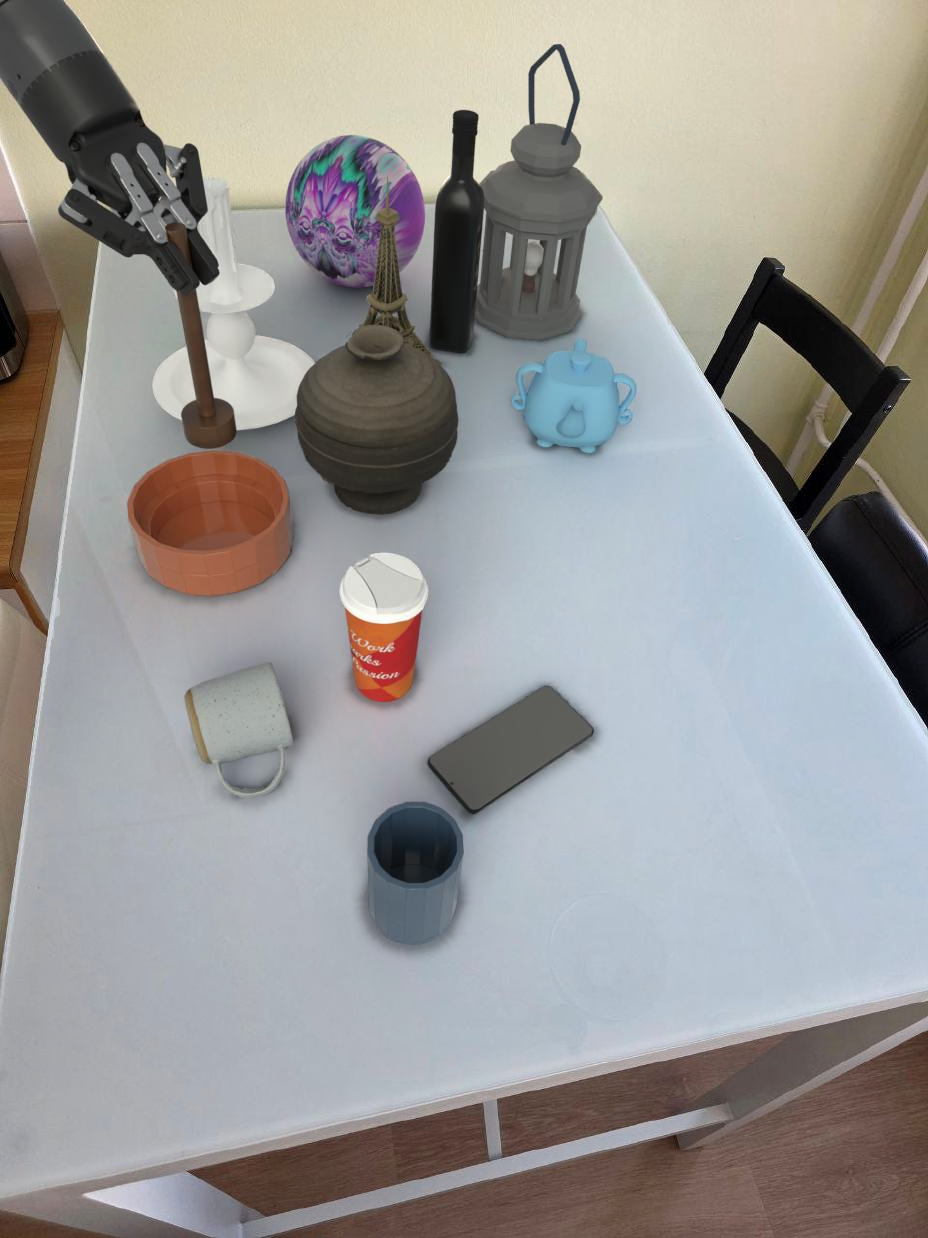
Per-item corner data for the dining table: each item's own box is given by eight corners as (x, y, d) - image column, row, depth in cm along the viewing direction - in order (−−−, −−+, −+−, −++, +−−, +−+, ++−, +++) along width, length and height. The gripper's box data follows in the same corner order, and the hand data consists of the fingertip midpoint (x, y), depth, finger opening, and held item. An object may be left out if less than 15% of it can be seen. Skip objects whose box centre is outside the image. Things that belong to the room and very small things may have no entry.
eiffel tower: (386, 333, 129) (387, 149, 110) (441, 364, 125) (451, 178, 106) (331, 362, 124) (322, 173, 105) (387, 396, 119) (388, 205, 101)
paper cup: (328, 675, 88) (320, 575, 78) (389, 636, 92) (389, 536, 82) (379, 726, 85) (378, 628, 74) (440, 684, 89) (448, 585, 78)
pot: (301, 544, 99) (292, 378, 85) (296, 453, 112) (287, 295, 98) (463, 538, 102) (479, 376, 88) (440, 449, 115) (451, 296, 101)
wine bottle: (474, 334, 131) (493, 108, 108) (467, 355, 127) (485, 126, 104) (435, 327, 131) (446, 101, 108) (427, 349, 127) (437, 119, 105)
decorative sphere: (265, 291, 134) (251, 150, 119) (329, 236, 147) (323, 101, 132) (388, 326, 130) (389, 184, 115) (443, 266, 143) (450, 131, 128)
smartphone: (597, 730, 85) (472, 813, 78) (595, 735, 86) (471, 819, 79) (548, 682, 88) (424, 758, 82) (546, 687, 89) (424, 763, 82)
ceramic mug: (189, 718, 84) (175, 668, 78) (277, 694, 86) (270, 644, 81) (214, 816, 78) (201, 769, 72) (307, 788, 80) (302, 740, 74)
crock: (437, 958, 71) (443, 903, 63) (354, 926, 72) (351, 869, 65) (467, 879, 75) (476, 820, 68) (389, 850, 77) (390, 789, 69)
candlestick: (298, 331, 128) (282, 117, 107) (337, 437, 113) (326, 213, 92) (147, 347, 123) (98, 127, 102) (165, 461, 108) (113, 229, 87)
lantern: (446, 302, 136) (461, 35, 110) (525, 270, 144) (556, 14, 118) (525, 353, 128) (561, 78, 102) (604, 316, 136) (656, 52, 110)
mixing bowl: (247, 618, 93) (240, 573, 88) (109, 572, 95) (94, 526, 91) (317, 519, 103) (314, 474, 98) (191, 480, 106) (181, 435, 101)
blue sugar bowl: (576, 396, 123) (587, 319, 115) (646, 450, 115) (663, 372, 107) (500, 424, 118) (505, 346, 110) (567, 483, 110) (579, 403, 102)
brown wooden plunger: (245, 438, 86) (217, 232, 71) (199, 455, 84) (159, 246, 69) (222, 412, 89) (190, 207, 74) (176, 428, 87) (133, 220, 72)
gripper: (-5, 71, 62) (156, 299, 67) (148, 27, 70) (282, 234, 75) (-29, 132, 68) (121, 337, 73) (115, 84, 76) (241, 273, 81)
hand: (202, 284), depth 74 cm, fingers closed on brown wooden plunger
